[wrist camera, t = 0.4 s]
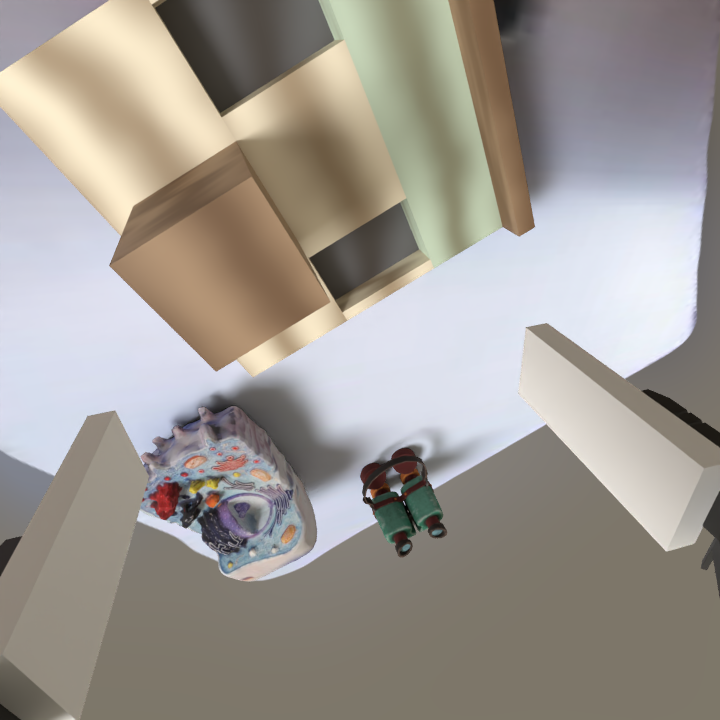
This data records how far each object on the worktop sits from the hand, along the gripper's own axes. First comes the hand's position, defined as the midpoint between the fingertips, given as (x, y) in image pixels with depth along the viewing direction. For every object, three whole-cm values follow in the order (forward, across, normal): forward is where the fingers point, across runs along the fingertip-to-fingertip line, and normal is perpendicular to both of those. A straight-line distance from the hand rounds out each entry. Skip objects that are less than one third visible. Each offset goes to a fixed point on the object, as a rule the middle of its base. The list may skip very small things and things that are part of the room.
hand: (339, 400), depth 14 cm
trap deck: (+24, +2, +5) cm, 25 cm away
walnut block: (+21, -5, +2) cm, 22 cm away
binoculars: (+29, +7, -34) cm, 46 cm away
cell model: (+27, -11, -25) cm, 38 cm away
